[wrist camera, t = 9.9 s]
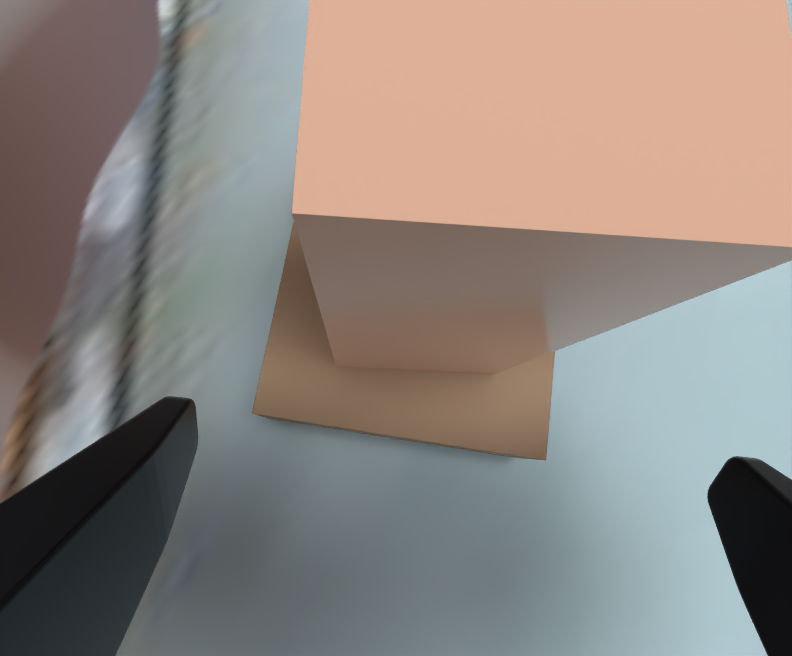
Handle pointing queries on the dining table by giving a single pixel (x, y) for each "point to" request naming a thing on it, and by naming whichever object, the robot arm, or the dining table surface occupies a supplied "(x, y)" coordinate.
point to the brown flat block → (394, 386)
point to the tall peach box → (534, 169)
